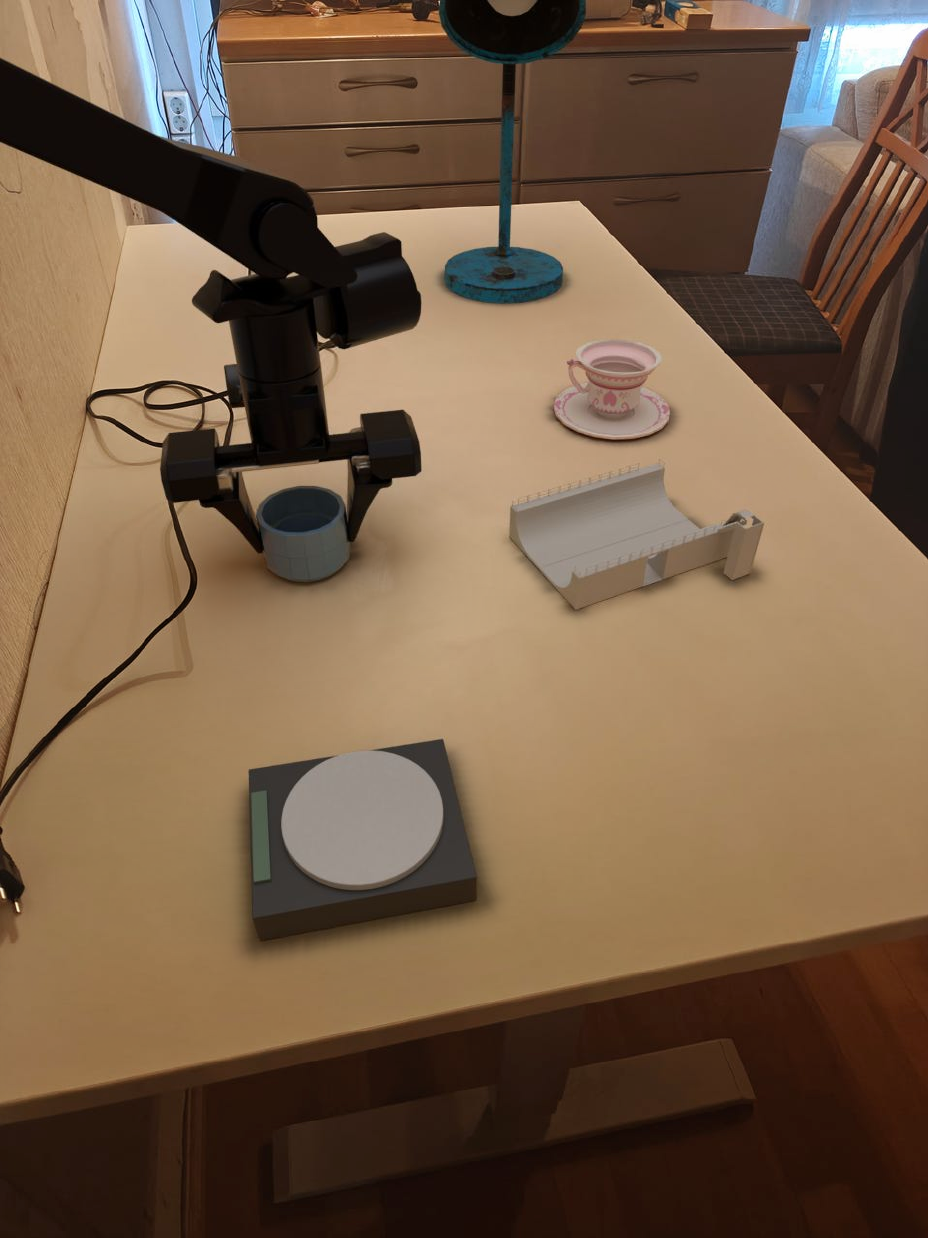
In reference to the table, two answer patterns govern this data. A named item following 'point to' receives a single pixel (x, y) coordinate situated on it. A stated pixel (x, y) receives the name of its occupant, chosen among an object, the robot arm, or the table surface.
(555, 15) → the desk lamp
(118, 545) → the table surface
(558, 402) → the teacup
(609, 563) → the skate ramp
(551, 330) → the table surface
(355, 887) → the scale
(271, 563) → the bowl
